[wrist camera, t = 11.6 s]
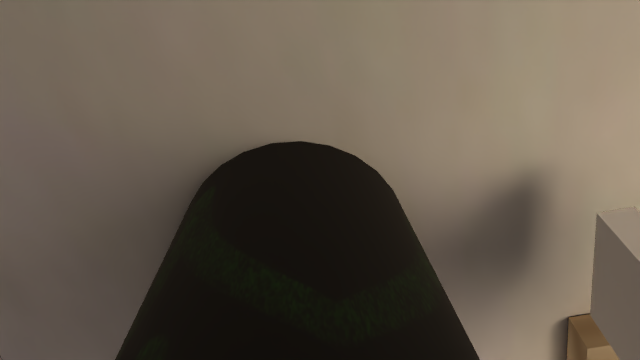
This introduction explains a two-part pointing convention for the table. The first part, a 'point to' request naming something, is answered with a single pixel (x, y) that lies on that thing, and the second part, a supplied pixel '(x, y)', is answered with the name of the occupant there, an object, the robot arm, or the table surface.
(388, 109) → the table surface
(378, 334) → the cup
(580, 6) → the table surface
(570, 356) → the panel
